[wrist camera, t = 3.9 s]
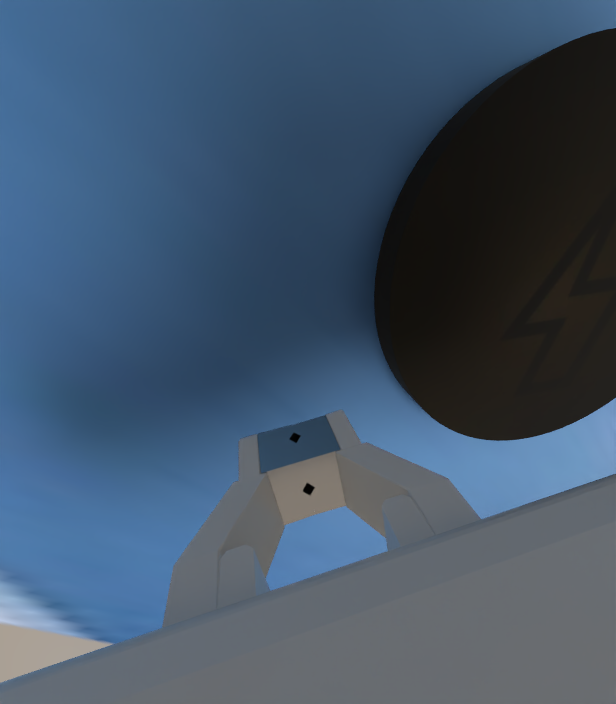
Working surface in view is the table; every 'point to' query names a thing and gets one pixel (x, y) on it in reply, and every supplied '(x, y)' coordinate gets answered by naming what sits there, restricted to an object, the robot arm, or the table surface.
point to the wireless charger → (510, 253)
